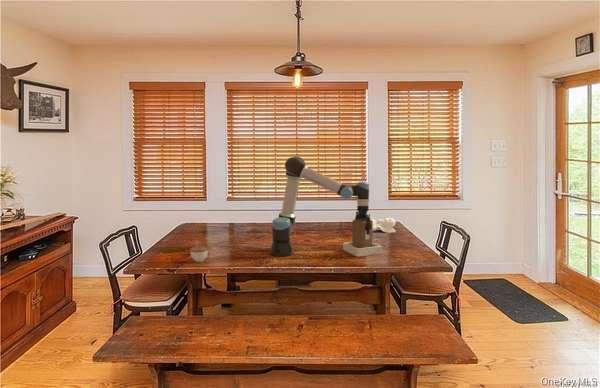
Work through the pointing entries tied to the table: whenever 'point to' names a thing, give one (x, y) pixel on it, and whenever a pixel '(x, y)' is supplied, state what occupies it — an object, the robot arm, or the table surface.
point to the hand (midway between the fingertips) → (362, 237)
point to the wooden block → (361, 234)
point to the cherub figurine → (384, 225)
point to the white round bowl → (199, 253)
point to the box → (362, 249)
